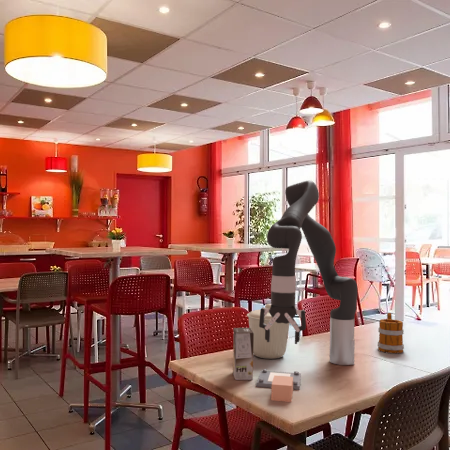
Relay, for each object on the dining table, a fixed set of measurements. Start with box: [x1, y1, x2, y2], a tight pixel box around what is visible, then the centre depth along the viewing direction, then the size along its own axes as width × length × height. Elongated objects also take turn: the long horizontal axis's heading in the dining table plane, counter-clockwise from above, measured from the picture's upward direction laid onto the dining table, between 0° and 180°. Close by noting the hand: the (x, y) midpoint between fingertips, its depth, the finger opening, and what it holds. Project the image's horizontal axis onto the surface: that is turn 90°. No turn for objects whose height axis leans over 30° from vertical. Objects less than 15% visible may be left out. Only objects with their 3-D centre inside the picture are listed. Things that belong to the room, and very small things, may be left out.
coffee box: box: [232, 327, 254, 381], centre depth 170 cm, size 9×6×16 cm
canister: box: [246, 303, 290, 360], centre depth 198 cm, size 18×18×21 cm
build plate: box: [255, 368, 302, 391], centre depth 165 cm, size 14×14×2 cm
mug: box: [377, 312, 405, 354], centre depth 213 cm, size 11×16×15 cm, turn 166°
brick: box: [270, 375, 294, 403], centre depth 150 cm, size 6×9×5 cm, turn 169°
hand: (282, 342), depth 151 cm, fingers open, 8 cm apart
